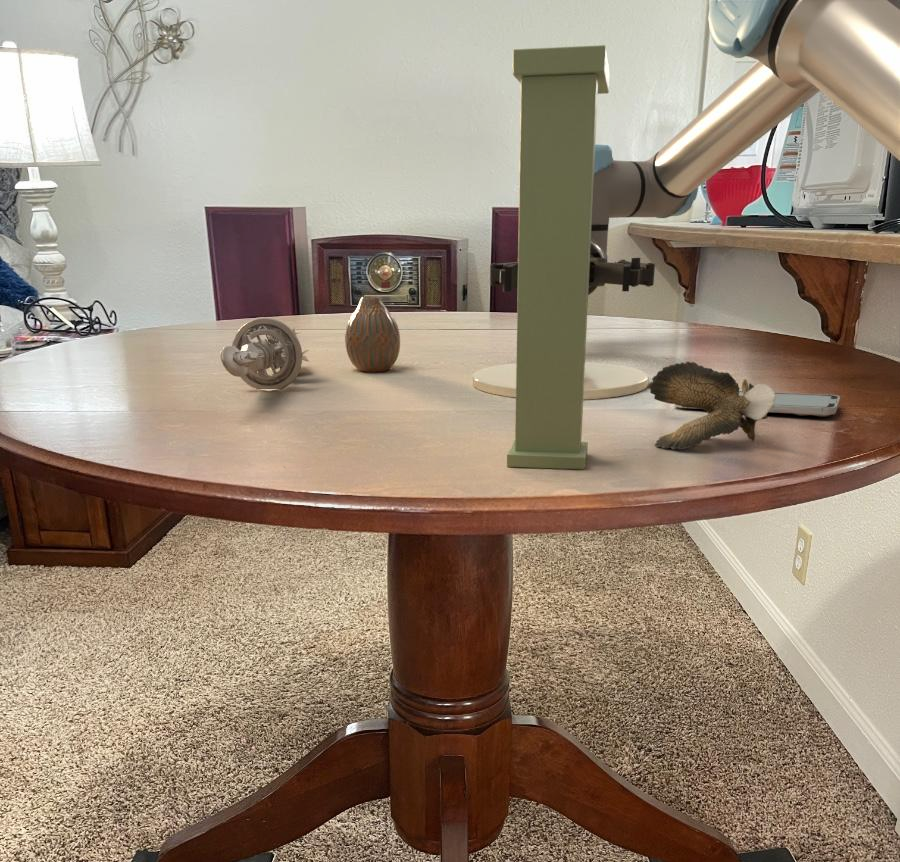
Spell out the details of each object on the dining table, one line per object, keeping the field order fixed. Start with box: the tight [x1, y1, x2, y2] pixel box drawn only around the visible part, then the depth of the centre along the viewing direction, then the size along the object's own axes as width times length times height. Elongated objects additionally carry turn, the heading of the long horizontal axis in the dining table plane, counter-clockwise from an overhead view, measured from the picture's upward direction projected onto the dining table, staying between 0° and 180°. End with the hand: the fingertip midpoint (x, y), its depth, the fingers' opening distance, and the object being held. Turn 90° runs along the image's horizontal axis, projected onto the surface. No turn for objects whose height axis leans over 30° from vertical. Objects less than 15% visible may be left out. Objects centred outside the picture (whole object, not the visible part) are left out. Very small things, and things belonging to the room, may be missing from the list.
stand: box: [506, 44, 611, 470], centre depth 69 cm, size 12×6×28 cm, turn 169°
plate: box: [472, 361, 650, 401], centre depth 102 cm, size 20×20×1 cm
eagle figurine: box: [647, 361, 776, 450], centre depth 74 cm, size 8×7×9 cm
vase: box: [344, 295, 401, 373], centre depth 111 cm, size 7×7×9 cm
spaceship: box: [219, 317, 310, 390], centre depth 99 cm, size 8×35×8 cm
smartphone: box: [673, 390, 841, 418], centre depth 88 cm, size 7×1×15 cm
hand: (566, 279), depth 103 cm, fingers open, 13 cm apart
